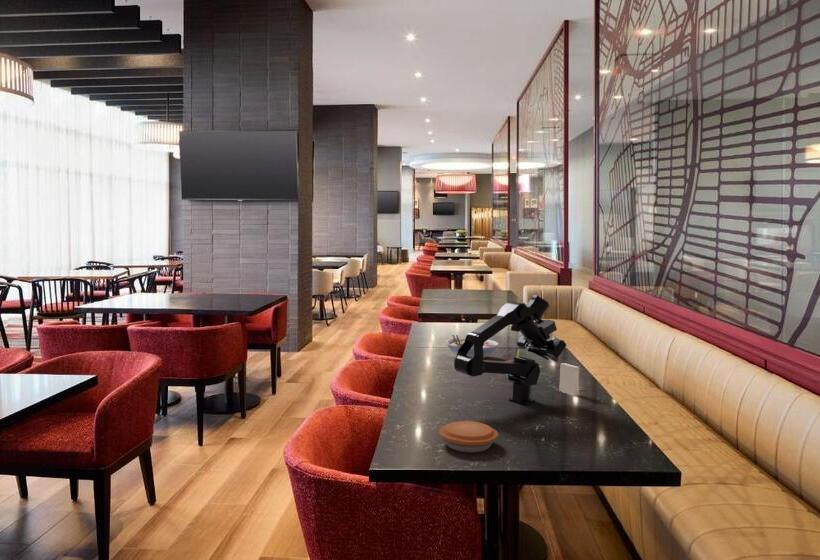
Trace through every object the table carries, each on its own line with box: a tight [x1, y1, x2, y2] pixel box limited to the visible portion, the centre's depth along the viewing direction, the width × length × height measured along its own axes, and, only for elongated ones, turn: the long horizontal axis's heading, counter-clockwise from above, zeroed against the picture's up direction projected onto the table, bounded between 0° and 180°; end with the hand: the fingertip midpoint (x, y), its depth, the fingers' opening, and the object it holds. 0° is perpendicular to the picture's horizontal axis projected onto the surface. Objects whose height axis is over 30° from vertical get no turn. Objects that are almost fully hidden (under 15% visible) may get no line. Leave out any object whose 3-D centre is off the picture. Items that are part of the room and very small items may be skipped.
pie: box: [438, 420, 499, 454], centre depth 161 cm, size 16×16×5 cm
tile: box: [558, 362, 580, 397], centre depth 215 cm, size 2×7×10 cm, turn 31°
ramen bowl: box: [445, 334, 499, 359], centre depth 268 cm, size 25×23×8 cm
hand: (552, 360), depth 210 cm, fingers open, 4 cm apart
